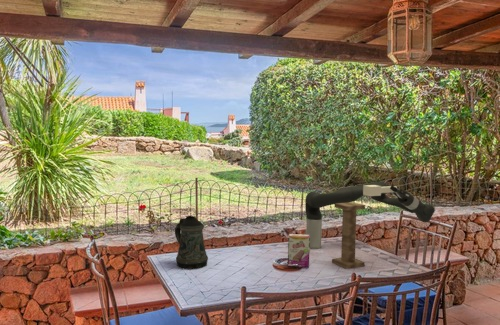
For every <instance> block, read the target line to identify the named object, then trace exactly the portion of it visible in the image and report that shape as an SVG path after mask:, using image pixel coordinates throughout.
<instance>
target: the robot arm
mask: <svg viewBox="0 0 500 325" xmlns="http://www.w3.org/2000/svg"><path fill="white" fill-rule="evenodd" d="M363 185H377V186H381V187H387V186H391V187H390V189H391V190H392V191H394V192H390V193H388V194H389V195H390V196H394V197H389V196H387V195H386V194H387V193H381V196H369V197H370V198H371V199H372V200H374V201H376V202H379V203H382V204H386V205H389V206H393V207H397V208H400V209H401V210H404V211H406V212H408V213H411V214H415V216H416V217H417V219H418V220H419V221H420V222H422V223H429V222H430V221H431V220H432V219H431V218H432V217H433V215H434V213H435V211H436V210H435V207H434V206H433V205H431V204H429V203H423V202H422V201H420V200H419V199H418V198H417V197H415V196H414V195H413V194H412V193H411V192H409V191H407V190H406V191H405V190H402V189H400V188H398V187H397V186H396V187H397V188H396V187H394V186H395V185H390V184H386V183H385V182H383V181H373V182H368V183H364V184H361V185H356V186H347V187H342V188H341V187H340V188H338V189H336V190H334V191H332V192H325V193H319V192H316V191H309V192H308V193H307V194H306V196H305V201H304V202H305V203H304V204H305V207H304V209H305V216H306V223H305V224H306V226H305V227H306V228H305V229H306V230H305V229H304V235H310V249H321V248H322V231H323V230H322V228H323V227H322V226H323V221H322V220H323V214H322V213H321V212H322V211H321V208H324V207H328V206H330V205H331V206H332V205H335V204H336V203H349V202H354V203H355V201H358V200H359V199H361V198H362V197H364V195H363Z"/></svg>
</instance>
